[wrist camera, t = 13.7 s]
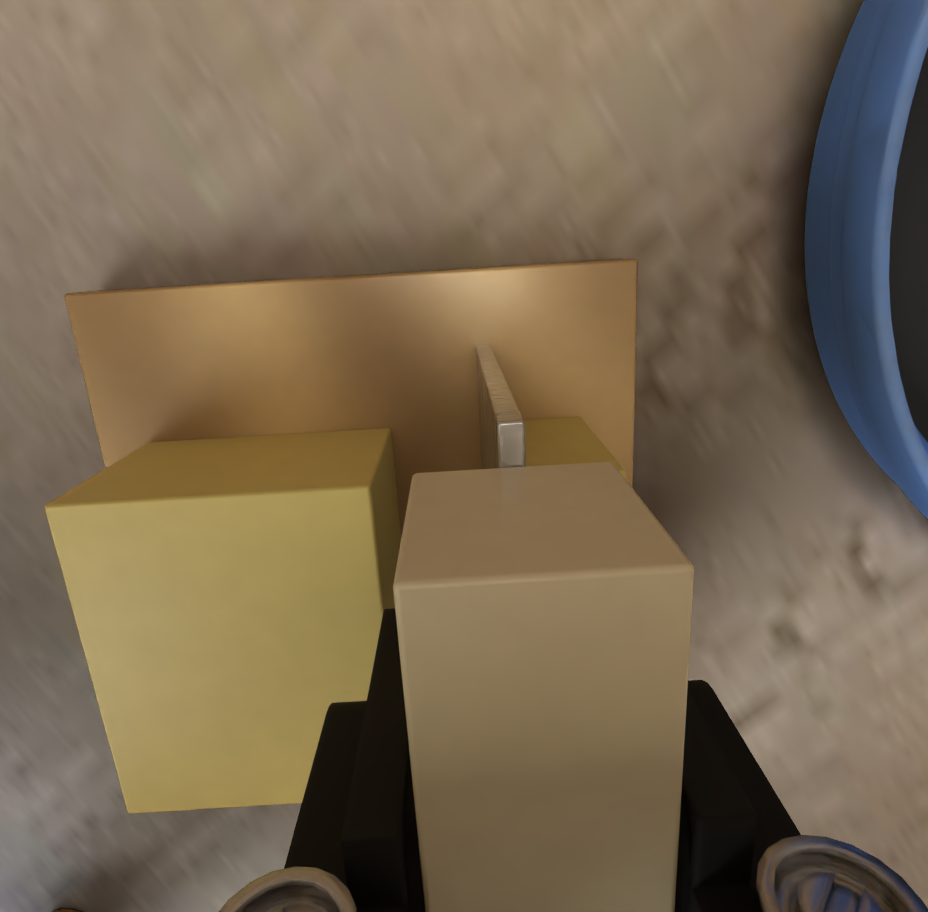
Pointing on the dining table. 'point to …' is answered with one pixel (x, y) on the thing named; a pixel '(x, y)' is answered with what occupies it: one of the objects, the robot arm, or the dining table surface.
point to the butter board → (363, 358)
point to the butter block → (229, 605)
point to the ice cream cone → (65, 911)
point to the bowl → (876, 239)
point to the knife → (541, 680)
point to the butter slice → (564, 443)
